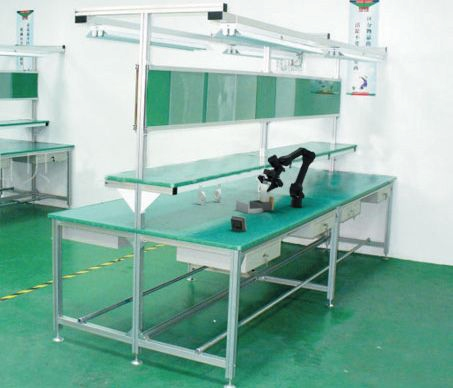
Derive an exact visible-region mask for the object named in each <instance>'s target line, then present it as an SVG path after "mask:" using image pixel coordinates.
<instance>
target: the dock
mask: <svg viewBox="0 0 453 388" xmlns="http://www.w3.org/2000/svg"><path fill="white" fill-rule="evenodd" d="M235 201H236V202H235V211H239V212H241V213H245V214H249V215H250V214H260V213H265V211H262V209H263V208H255V209H249V208H250V204H249V202H244V201H242V200H237V199H236V200H235Z"/></svg>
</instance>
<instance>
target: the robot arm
mask: <svg viewBox="0 0 453 388" xmlns="http://www.w3.org/2000/svg"><path fill="white" fill-rule="evenodd" d="M300 156H301V160H302V164H301V165H300V168H299V171H298V174H297V176H296V179H295V181H294V183H293V182H291V183H290V187H289V188H288V189H289V190H288V192H289V197H290V198H291V199H290V207H293V208H303V207H304V206H303V199H305V197H306V195H305V193H304V192H303V190H304V187H303V183H304V180H305V178H306V175H307V173H308V170H309V168H310V166H311V164H313V163H314V161H315V159H316V158H317V157H316V156H317V155H316V152H315V151H311V150H309V149H307V148H306V147H302V146H300V147H298V148H297V149H296V150H294V151H292V152H291V153H288V154H287V155H286V154H285V155H281V156H279V157H278V156H277V154H273V155H271V156H269V157H268V158H267V163H268V164H269V165H270V167H271V168H272V169H269V168H264V169H263V172H262V174H263V175H262V174H259V175H258V176H257V180H258V181H259V183H260V184H261V183H263V181H268V183H270V186H269V188H268V189H267V192H269V191H270V192H271V191H273V190H275V189H277V188H283V187H284V182H283V180H282V179H281V175H282V172H283V173H286V167H289V166H290V165H291V164H292V162H293V161H294V160H296V159H298V158H299V157H300ZM259 191H260V188H259Z"/></svg>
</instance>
